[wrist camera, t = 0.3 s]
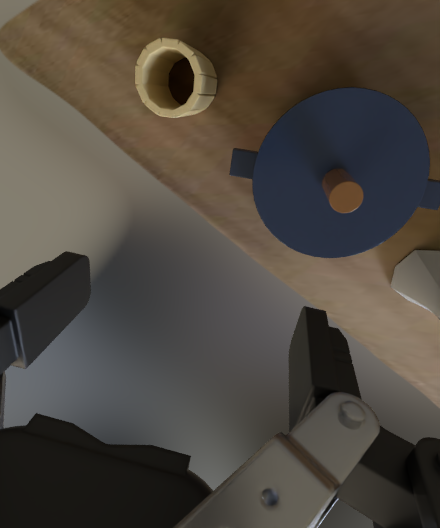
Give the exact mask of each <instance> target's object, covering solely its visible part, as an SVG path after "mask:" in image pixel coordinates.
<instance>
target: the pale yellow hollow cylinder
mask: <svg viewBox="0 0 440 528" xmlns="http://www.w3.org/2000/svg"><path fill="white" fill-rule="evenodd" d="M146 48H147V49H146ZM146 48H144V49H143V51H142V53H141V55H140V57H139V58H138V60H137V62H136V63H137V65H139V66H137V65H136V66H135V84H138V85H137V86H136V88H137V90H138V92H139V95H140V97H141V99H142V101H143V102H146V103H145V105H146V106H147V107H148V108H149V109H151V110H152V111H153V112H154V113H156V114H157V115H158V114H159V116H164V117H170V118H177V117H182V116H188V115H194V114H197V113H199V112H201V111H203V110H205V109H206V108H208V106H209V105H210V103H211V102H212V100H213V99H214V97H215V96H214V95H215V94H216V88H217V79H216V78H217V75H216V73H215V70H214V67H213V64H212V63H210V62H211V61H210V60H209V59H208V58H207V57H205V56H204V55H203V54H202V53H201V52H199V51H198V50H196V49H194V48H192V47H191V46H189V45H187V44H186V43H184V42H182V41H180V40H178V39H171V38H164V37H163V38H162V39H161V38H158V39H157V40H155V41H153V42H151V43H150V44H148V45H146ZM185 57H186V58H187V59H189V62H190V64H191V67H192V70H193V72H194V75H195V77H194V89H193V93H192V94H191V96H190V97H189V99H188V101H187V102H186V104H184V105H182V106H181V105H180V104H179V103H178V102H177V101H176V100H174V99H173V97H172V95H171V92H170V90H169V87H168V81H169V72H170V71H171V69H172V67H173V65H174V64H175V62H177V61H179V60H181V59H183V58H185ZM213 94H214V95H213Z"/></svg>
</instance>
